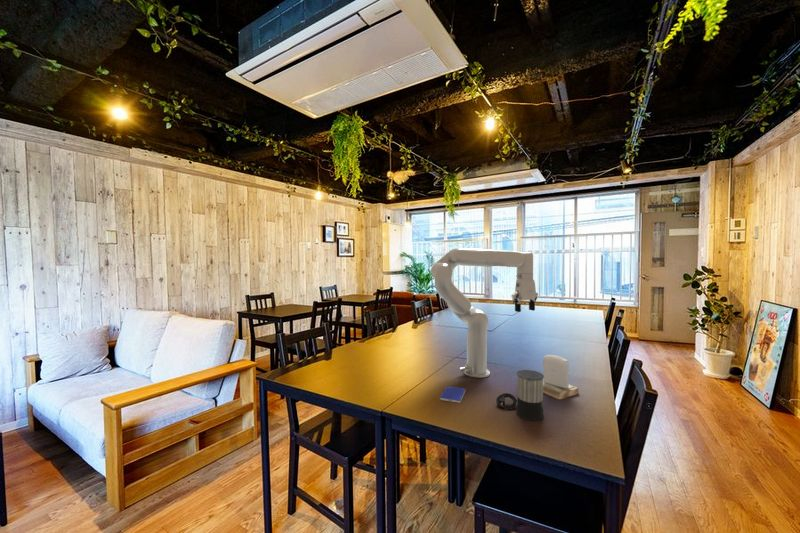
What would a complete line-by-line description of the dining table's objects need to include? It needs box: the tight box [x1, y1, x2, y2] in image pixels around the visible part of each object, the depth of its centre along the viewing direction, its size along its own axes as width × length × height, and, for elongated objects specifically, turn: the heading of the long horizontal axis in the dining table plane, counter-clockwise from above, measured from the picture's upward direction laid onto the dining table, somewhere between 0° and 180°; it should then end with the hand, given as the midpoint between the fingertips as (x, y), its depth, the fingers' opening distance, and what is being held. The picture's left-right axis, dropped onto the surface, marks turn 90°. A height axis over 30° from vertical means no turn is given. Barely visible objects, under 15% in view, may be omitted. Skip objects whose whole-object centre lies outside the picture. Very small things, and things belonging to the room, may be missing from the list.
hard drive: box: [439, 385, 466, 403], centre depth 132 cm, size 2×8×12 cm
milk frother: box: [496, 369, 545, 421], centre depth 118 cm, size 14×16×15 cm
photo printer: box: [542, 354, 570, 388], centre depth 135 cm, size 10×4×12 cm, turn 37°
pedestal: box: [543, 382, 579, 400], centre depth 135 cm, size 12×12×3 cm
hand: (524, 310), depth 160 cm, fingers open, 9 cm apart
